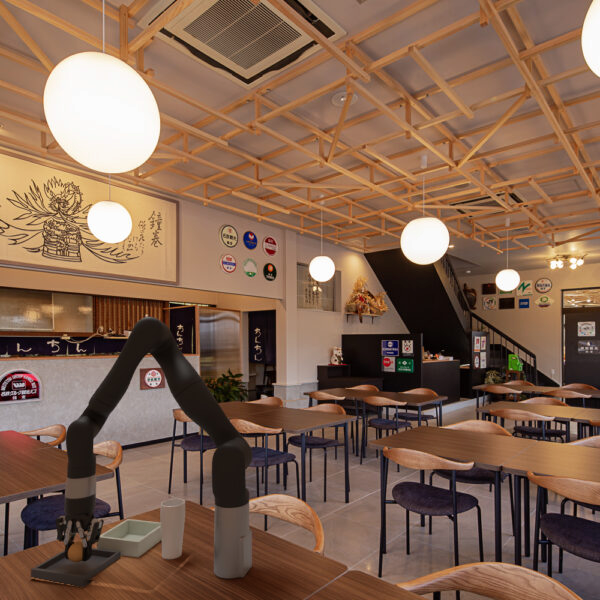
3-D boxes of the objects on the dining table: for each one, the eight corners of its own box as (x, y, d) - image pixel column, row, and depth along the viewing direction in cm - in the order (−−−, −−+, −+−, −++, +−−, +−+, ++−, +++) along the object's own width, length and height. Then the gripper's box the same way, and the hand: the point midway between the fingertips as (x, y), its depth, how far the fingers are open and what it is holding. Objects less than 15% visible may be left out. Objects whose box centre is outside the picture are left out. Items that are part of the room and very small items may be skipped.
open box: (165, 540, 134) (165, 523, 134) (138, 561, 121) (138, 542, 121) (127, 535, 137) (127, 518, 138) (96, 555, 124) (97, 536, 125)
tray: (120, 561, 121) (120, 551, 121) (82, 588, 107) (83, 577, 108) (72, 554, 125) (72, 545, 125) (30, 579, 111) (31, 569, 112)
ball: (92, 558, 118) (93, 538, 119) (78, 567, 113) (79, 546, 114) (77, 556, 119) (78, 536, 120) (62, 564, 115) (63, 544, 115)
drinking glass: (158, 565, 118) (160, 507, 120) (159, 554, 124) (161, 499, 126) (184, 562, 120) (185, 505, 121) (184, 551, 126) (185, 497, 128)
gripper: (112, 490, 120) (110, 555, 118) (69, 486, 124) (66, 549, 122) (93, 499, 113) (90, 569, 111) (48, 495, 116) (44, 562, 115)
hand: (77, 558), depth 116 cm, fingers closed on ball, 4 cm apart
